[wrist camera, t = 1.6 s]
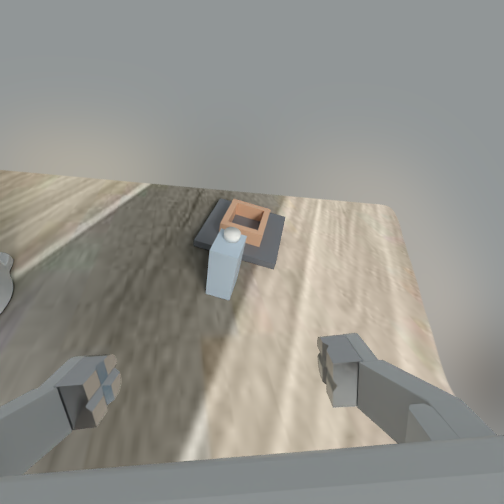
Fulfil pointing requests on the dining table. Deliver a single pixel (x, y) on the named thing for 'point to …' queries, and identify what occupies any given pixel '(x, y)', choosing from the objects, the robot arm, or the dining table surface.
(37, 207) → the dining table surface
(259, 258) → the plate
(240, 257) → the light blue tall block
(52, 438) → the robot arm
